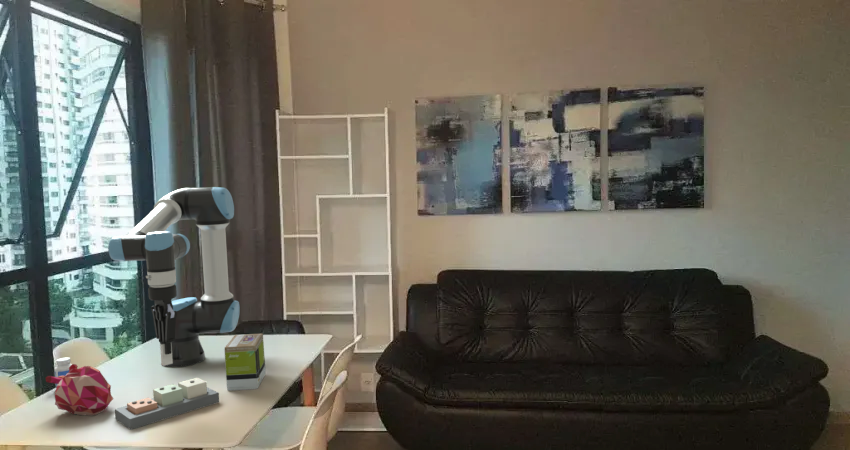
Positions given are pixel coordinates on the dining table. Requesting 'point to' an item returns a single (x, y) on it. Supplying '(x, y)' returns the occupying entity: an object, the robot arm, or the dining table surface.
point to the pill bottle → (62, 367)
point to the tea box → (245, 362)
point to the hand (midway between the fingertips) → (167, 364)
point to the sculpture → (82, 391)
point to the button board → (165, 410)
